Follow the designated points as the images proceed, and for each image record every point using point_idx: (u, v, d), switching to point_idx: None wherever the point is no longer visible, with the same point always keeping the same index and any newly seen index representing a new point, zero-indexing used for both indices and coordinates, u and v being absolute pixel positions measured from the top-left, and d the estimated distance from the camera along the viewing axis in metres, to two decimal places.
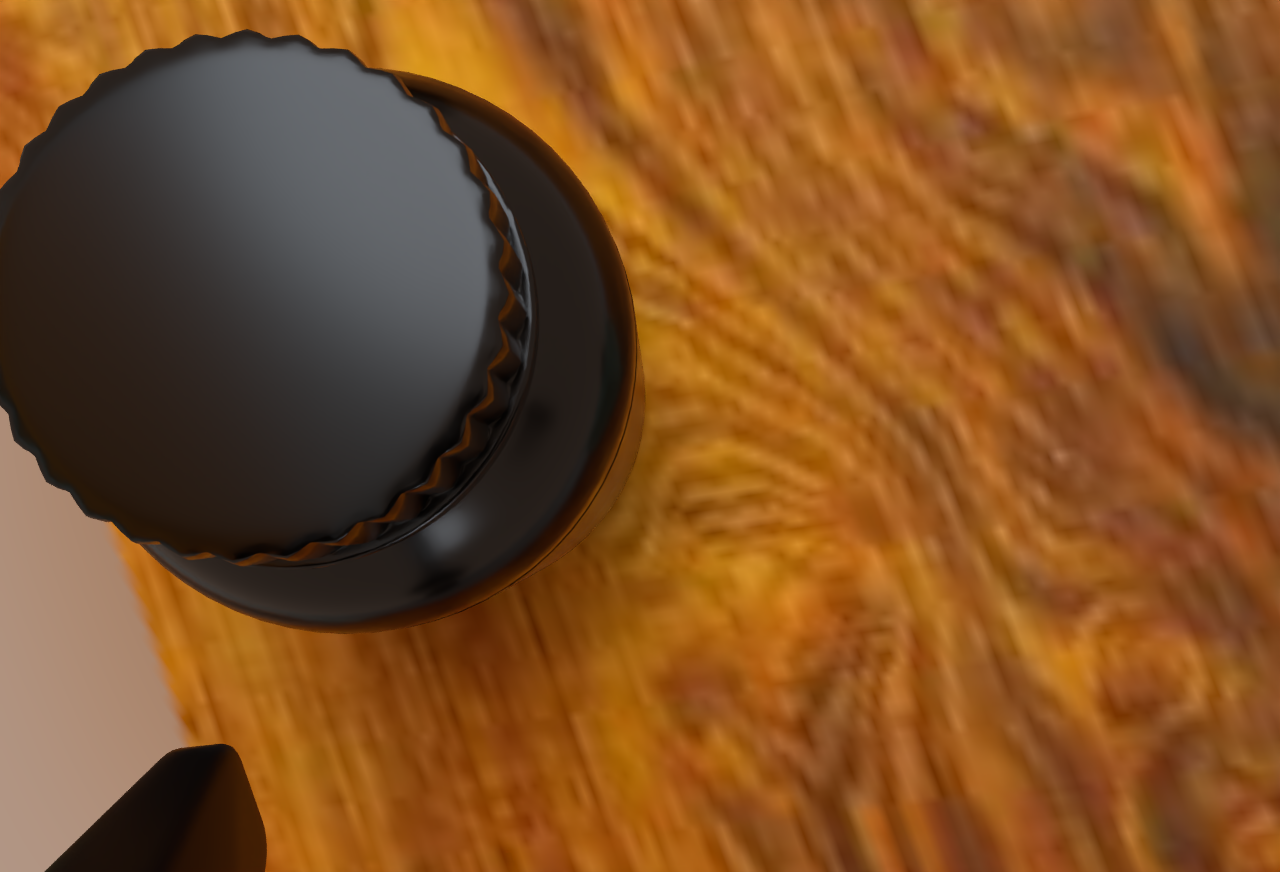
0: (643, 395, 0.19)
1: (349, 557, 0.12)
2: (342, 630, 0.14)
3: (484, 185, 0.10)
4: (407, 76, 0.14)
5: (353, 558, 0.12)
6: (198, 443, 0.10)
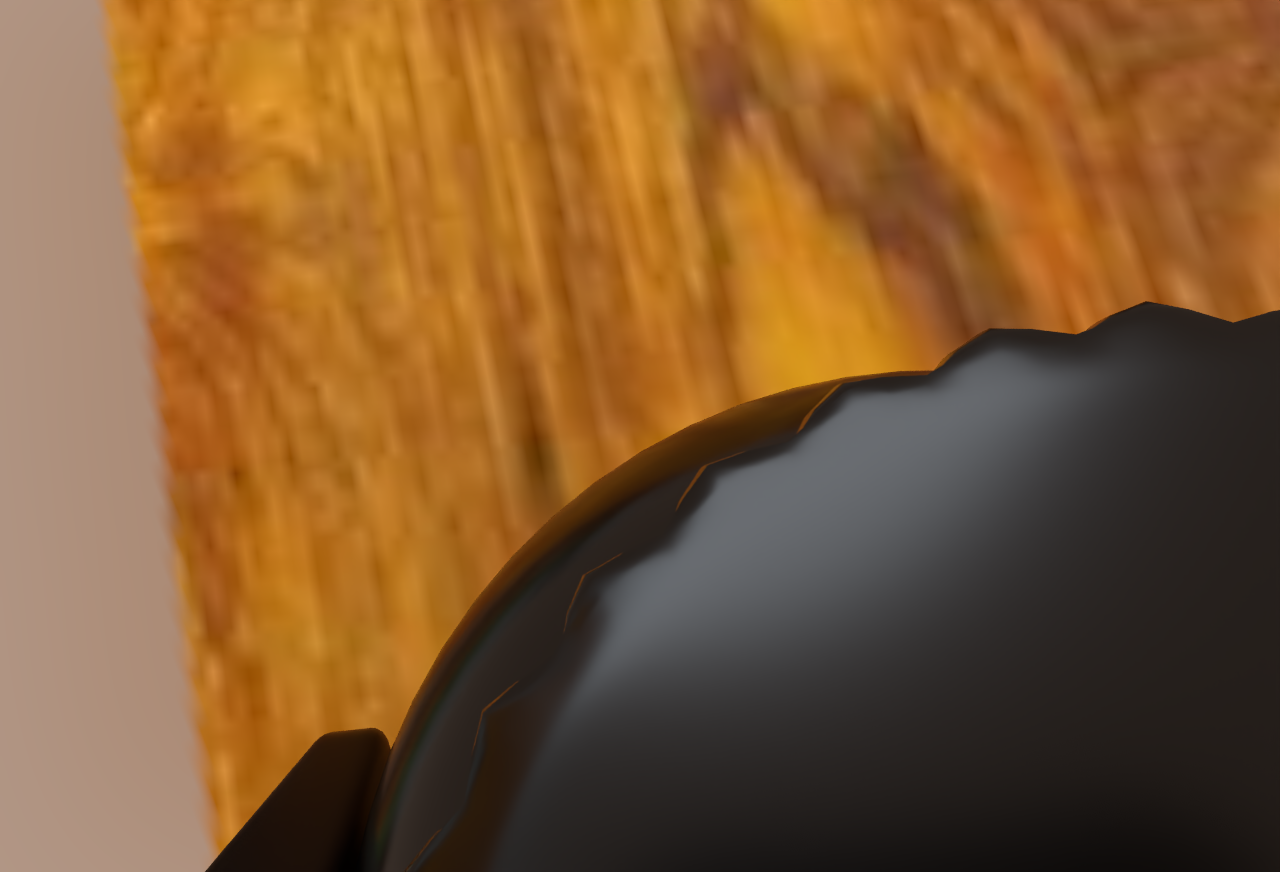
0: None
1: None
2: None
3: None
4: None
5: None
6: None
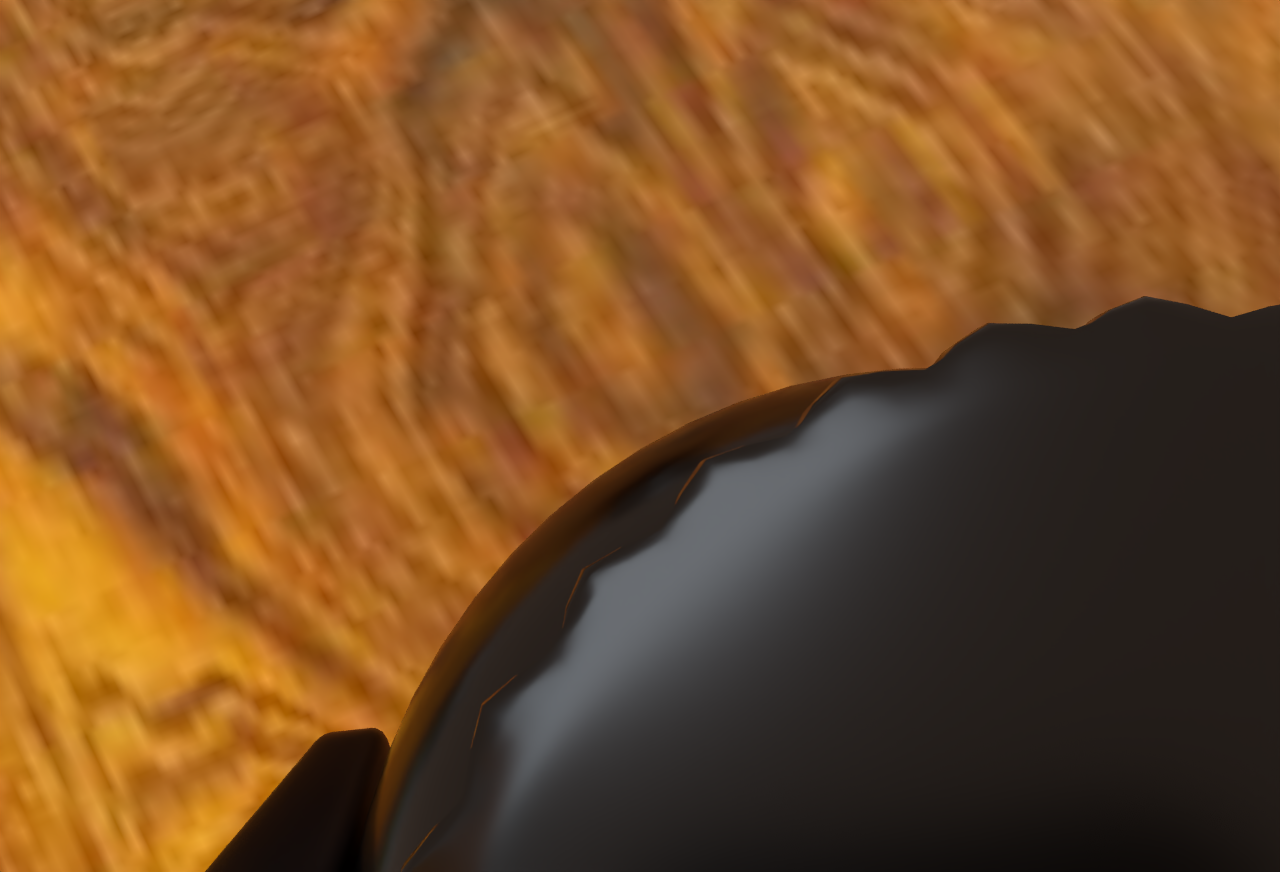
0: None
1: None
2: None
3: None
4: None
5: None
6: None
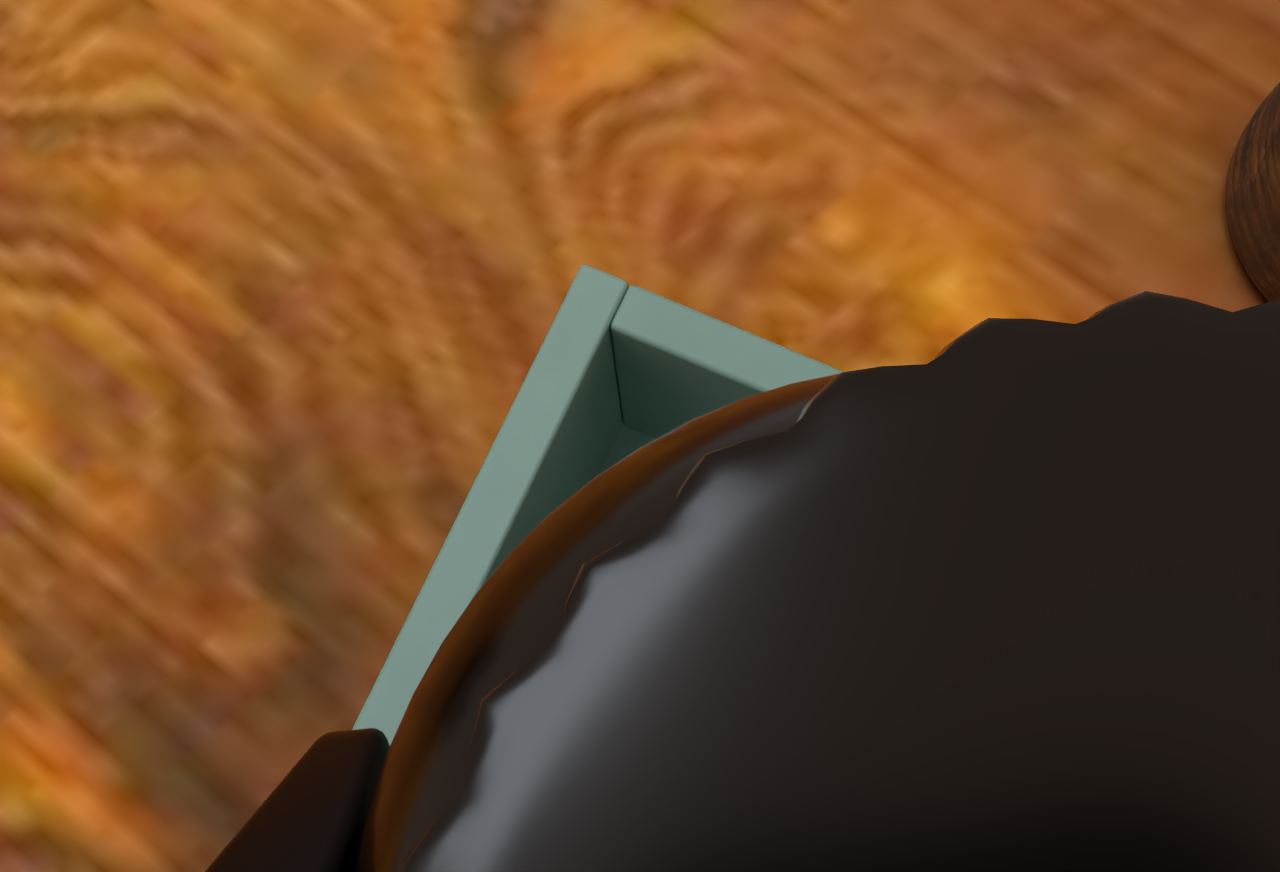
0: None
1: None
2: None
3: None
4: None
5: None
6: None
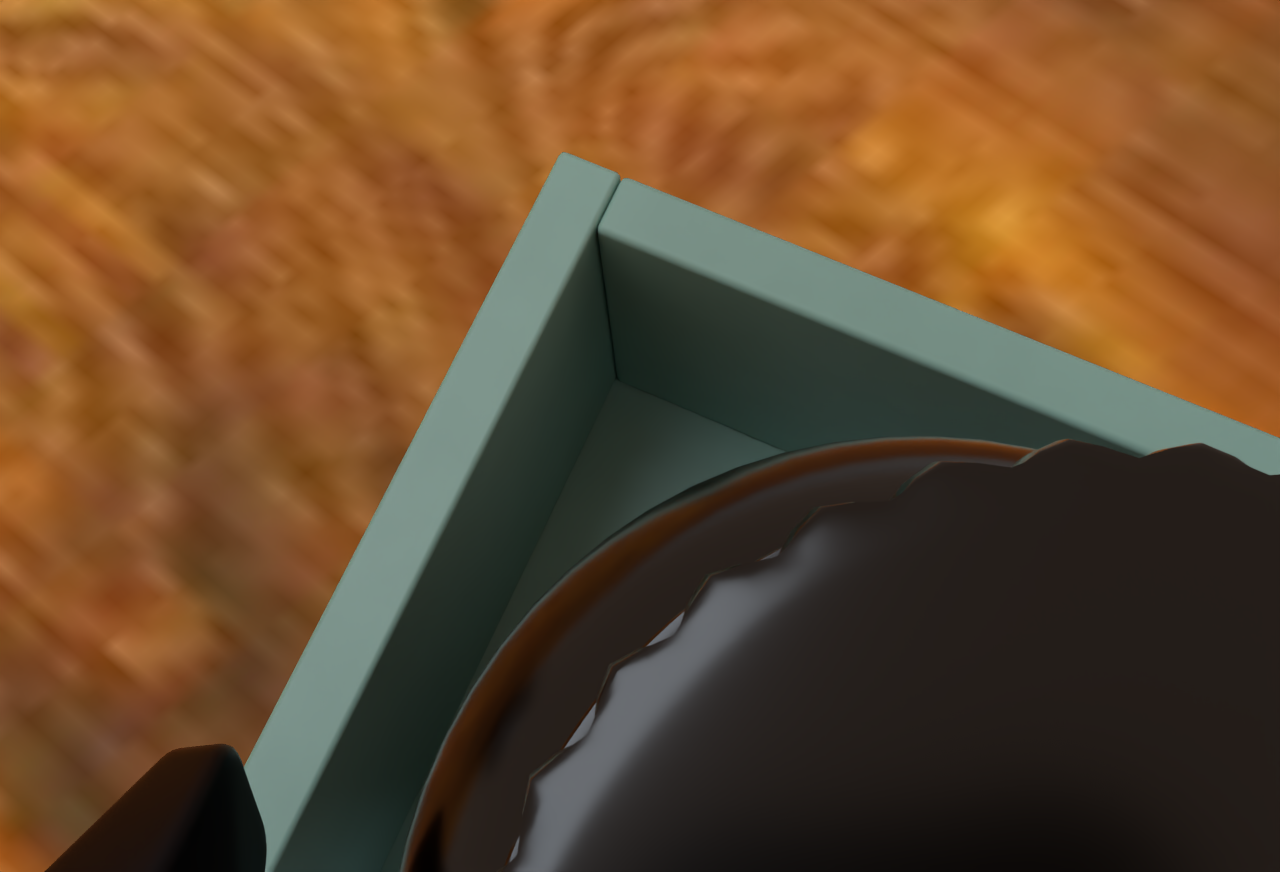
0: None
1: None
2: None
3: None
4: None
5: None
6: None
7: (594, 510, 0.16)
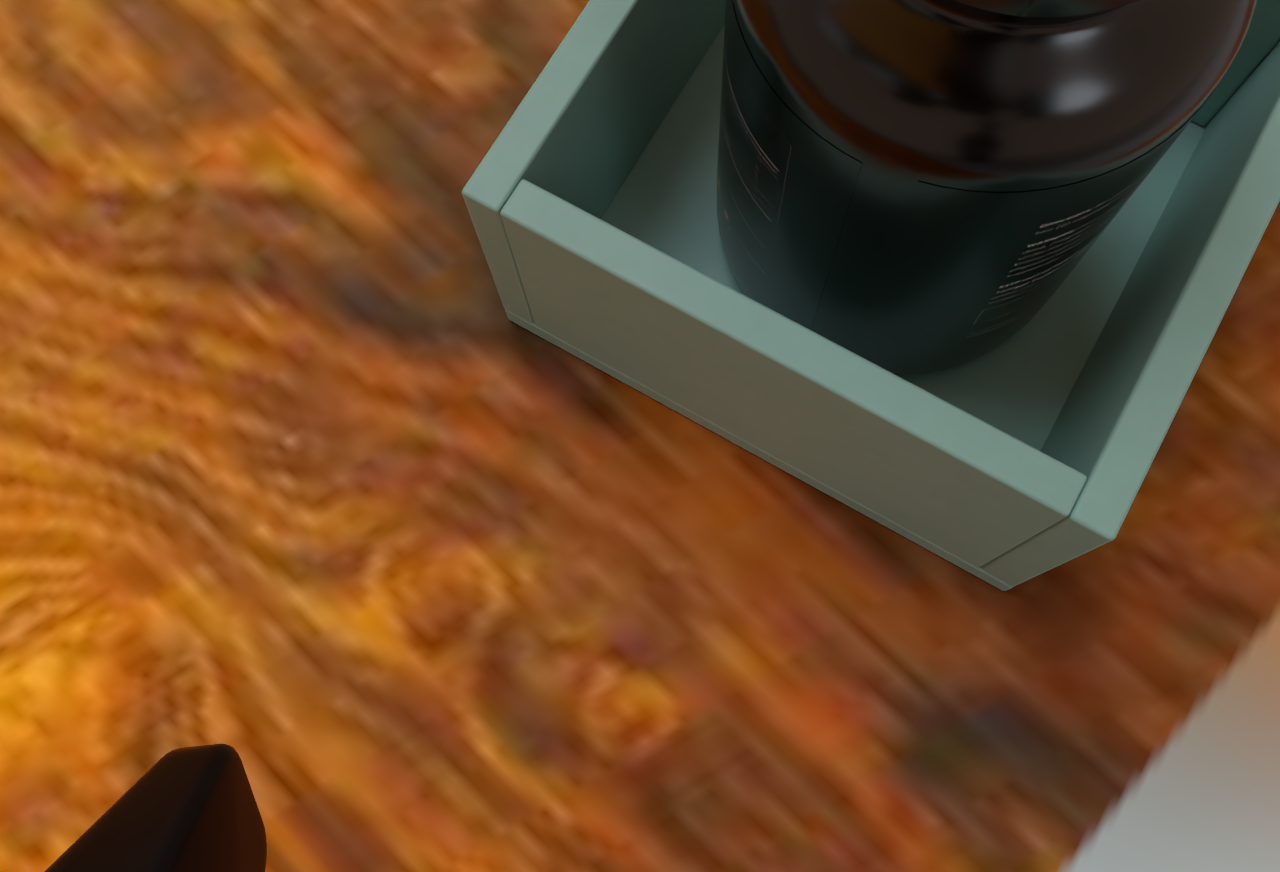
0: None
1: None
2: (953, 158, 0.14)
3: None
4: None
5: None
6: None
7: None
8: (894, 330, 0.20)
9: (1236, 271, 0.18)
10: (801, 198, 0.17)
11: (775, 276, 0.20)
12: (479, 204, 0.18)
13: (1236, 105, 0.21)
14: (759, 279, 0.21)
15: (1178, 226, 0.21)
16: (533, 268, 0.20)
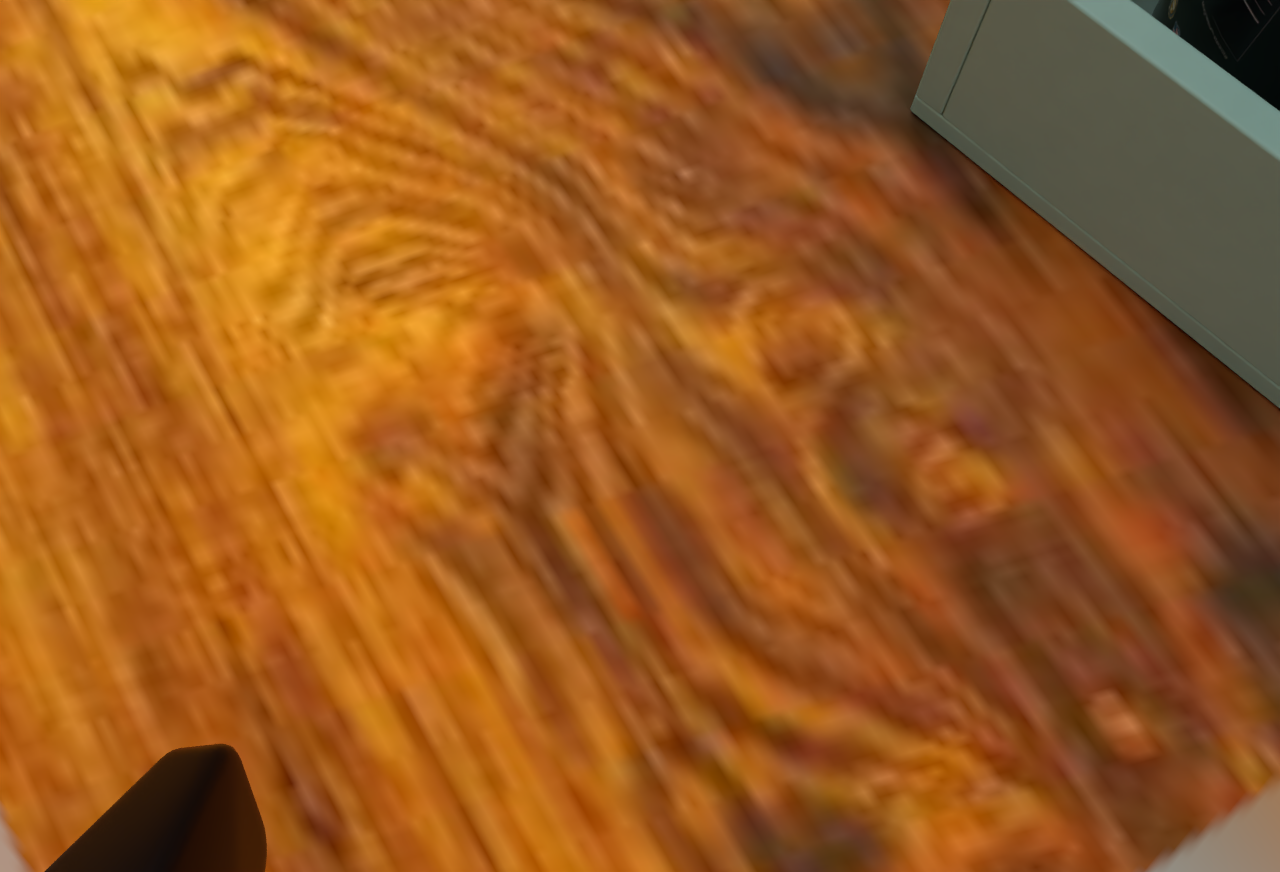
0: None
1: None
2: None
3: None
4: None
5: None
6: None
7: None
8: None
9: None
10: None
11: None
12: None
13: None
14: None
15: None
16: (1000, 32, 0.21)
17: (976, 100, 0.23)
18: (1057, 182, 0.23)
